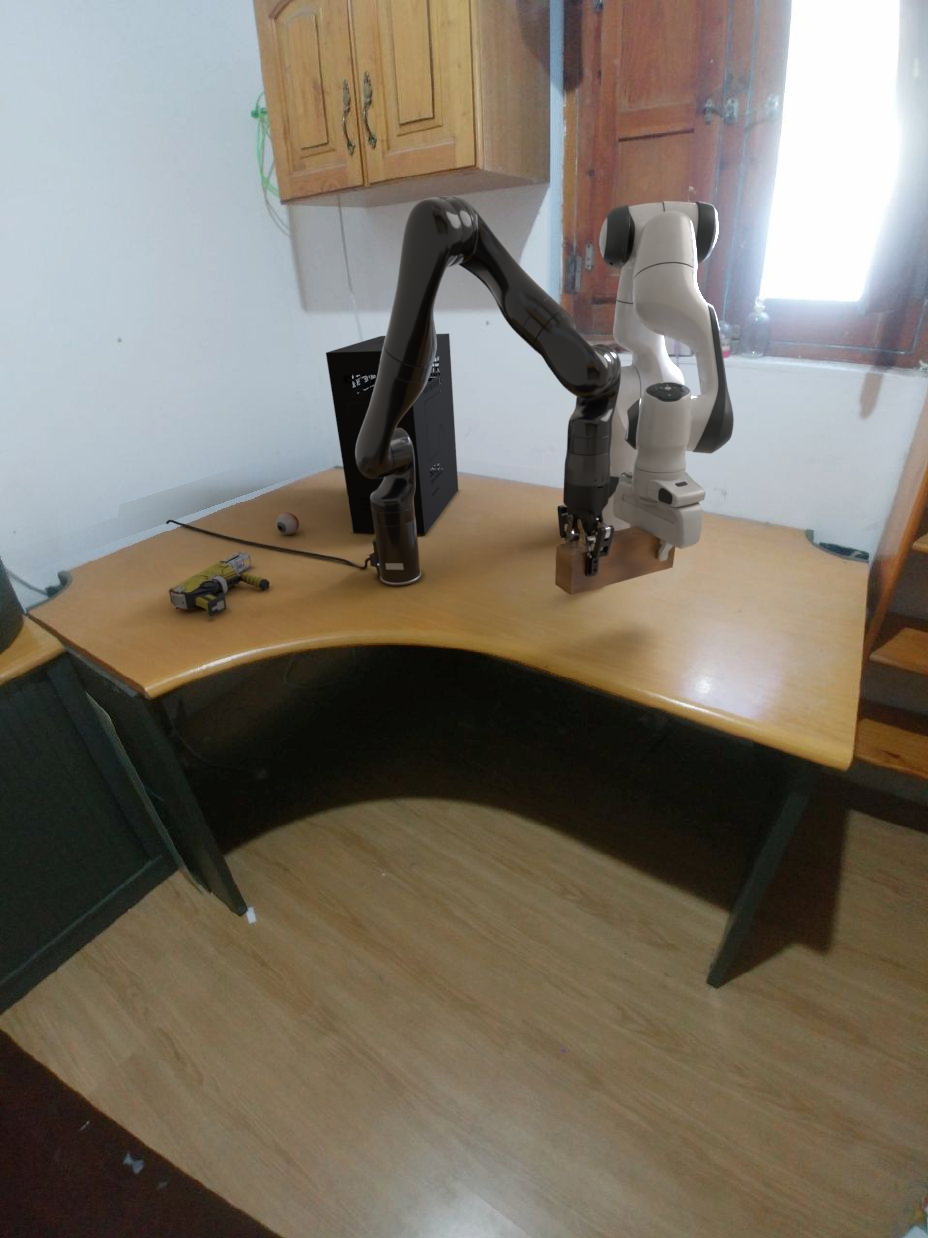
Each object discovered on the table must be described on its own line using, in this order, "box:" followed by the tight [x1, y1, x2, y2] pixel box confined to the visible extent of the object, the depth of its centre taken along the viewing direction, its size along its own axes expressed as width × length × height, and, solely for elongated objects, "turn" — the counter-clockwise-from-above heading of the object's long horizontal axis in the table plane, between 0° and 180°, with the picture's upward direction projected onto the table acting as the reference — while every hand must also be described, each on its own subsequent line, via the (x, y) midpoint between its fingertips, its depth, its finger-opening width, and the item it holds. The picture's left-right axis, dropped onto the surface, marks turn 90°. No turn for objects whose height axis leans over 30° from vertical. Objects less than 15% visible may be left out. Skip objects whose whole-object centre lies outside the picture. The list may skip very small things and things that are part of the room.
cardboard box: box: [325, 333, 459, 536], centre depth 166 cm, size 38×20×45 cm, turn 167°
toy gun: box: [168, 551, 270, 617], centre depth 135 cm, size 5×24×15 cm
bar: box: [554, 526, 677, 597], centre depth 111 cm, size 23×5×8 cm, turn 115°
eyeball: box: [275, 511, 300, 536], centre depth 163 cm, size 6×6×6 cm
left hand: (581, 569), depth 109 cm, fingers closed on bar, 5 cm apart
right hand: (649, 553), depth 114 cm, fingers closed on bar, 5 cm apart
